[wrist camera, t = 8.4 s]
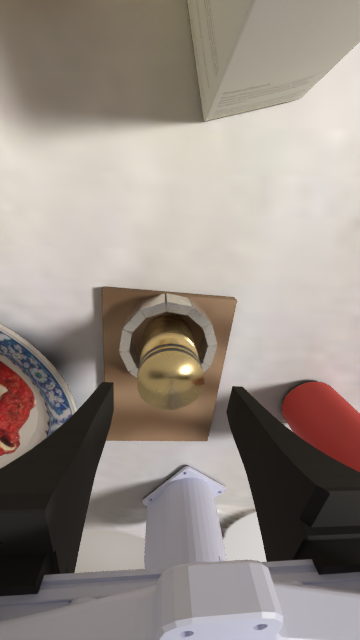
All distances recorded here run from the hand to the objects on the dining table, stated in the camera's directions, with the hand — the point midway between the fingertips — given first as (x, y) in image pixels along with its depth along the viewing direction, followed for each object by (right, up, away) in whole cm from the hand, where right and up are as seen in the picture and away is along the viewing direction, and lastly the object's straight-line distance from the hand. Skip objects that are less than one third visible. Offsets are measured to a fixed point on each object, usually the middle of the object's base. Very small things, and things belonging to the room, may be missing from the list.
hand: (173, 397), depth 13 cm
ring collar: (-1, +4, +9) cm, 9 cm away
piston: (-1, +3, +8) cm, 8 cm away
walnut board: (-1, -1, +11) cm, 11 cm away
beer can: (+16, -5, +14) cm, 22 cm away
